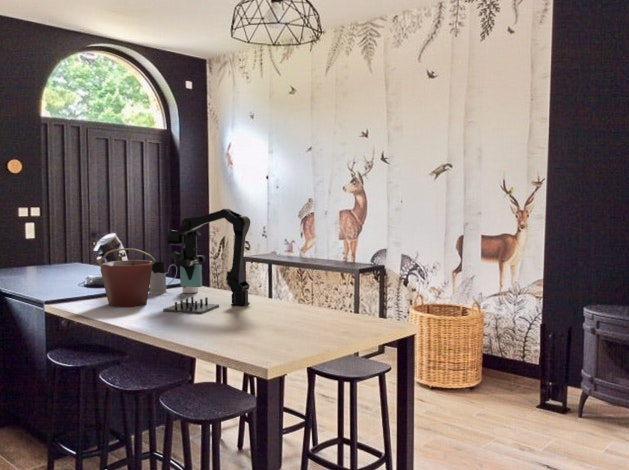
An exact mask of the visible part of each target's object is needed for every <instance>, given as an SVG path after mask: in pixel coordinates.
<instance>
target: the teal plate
mask: <svg viewBox="0 0 629 470" xmlns="http://www.w3.org/2000/svg"><path fill="white" fill-rule="evenodd" d="M179 269H180V270H179V278H180V279H179V280H180V287H182V286H183V287H198V288H202V287H203V275H202V274H203V271H202V270H203V267H202V264H201V265H195V266H194V270H193V275H192V278H191V280H189V279H188V276H187V274H186V271H185V269H184V268H183V267H182V266H179Z"/></svg>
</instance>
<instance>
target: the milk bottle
mask: <svg viewBox="0 0 629 470" xmlns="http://www.w3.org/2000/svg"><path fill="white" fill-rule="evenodd" d="M181 287H182V293H184V294H195V293H198V292H199V287H183V286H181Z"/></svg>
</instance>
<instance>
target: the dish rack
mask: <svg viewBox="0 0 629 470" xmlns="http://www.w3.org/2000/svg"><path fill="white" fill-rule="evenodd" d="M190 299H191V300H190V302H189V298H188V297H187V298H185V302H184V300H183V299H181V300H179V301H180V303H178V301H175V302H174V305H171V306H168V307H165V308H163V309H162V312H164V313H167V312H168V313H178V312H180V313H179V314H181V312H182V314H193V313H195V315H202V313H203V314H205V313H207V312H210V311H213V310H214V308H215V309H217V308H219V307H220V304H217V303H208V302H209V301H208V297H207V296H206V297H205V298H204V302H205V303H203V299H202V298H199V299H200V300H199V302H198V300H194V296H190ZM196 313H197V314H196Z"/></svg>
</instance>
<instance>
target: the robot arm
mask: <svg viewBox="0 0 629 470" xmlns="http://www.w3.org/2000/svg"><path fill="white" fill-rule="evenodd" d="M223 219H225V220H226V221H227V222H228V223H230V224H231V225H232V230H233V233H234V243H233V254H232V264H231V265H232V266H231V269H230V270H227V271H226V279H225V281H226V283H227V286H228V287H229V288H230V291H231V304H230V306H237V307H238V306H240V307H244V306H247V305H250V304H251V303H250V302H249V289H250V286H251V285H250V284H249V283H248V281H247V280H246V279H245V278H246V276H245V270H244V267H243V265H244V258H245V257H244V256H245V254H244V253H245V243H246V236H247V234H248V232H249V229H250V225H251V219H250V218H249V217H248V216H246V215H242V214H240V213H238V212H235V211H233V210H231V209H230V208H222V209H220V210H217V211H214V212H210V213H208V214H205V215H204V214H203V215H202V216H201V215H200V216H194V217H186V218H183V219H182V221H181V225H180V226H179V228H178V229H177V230H174V229H170V230H169V233H168V235H167V237H166V240H167V244H168V245H169V246H182V245H183V247H182V248H181V251H177V250H174V251H172V252H171V259H173V260H174V261H173V262H174V265H175V266H174V267H180V266H182V267H183V268H184V269H185V271H186V274H187V276H188V279H189V280H191V278H192V275H193V270H194V266H195V265H202V263H205V262H207V257H206V256H205V255H203V254H202V255H201V254H200V255H198V251H199V249H200V247H198V239H197V237H198V236H202V233H201V232H199V230H198V229H199V228H201V227H202V226H204V225H206V224H209V223H210V224H211V223H213V222H217V221H219V220H223ZM199 262H202V263H199Z"/></svg>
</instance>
